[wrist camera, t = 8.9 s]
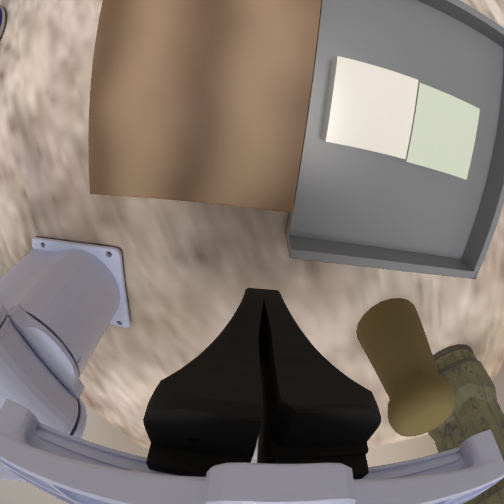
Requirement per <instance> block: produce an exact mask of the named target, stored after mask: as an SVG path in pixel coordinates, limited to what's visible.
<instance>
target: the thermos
mask: <svg viewBox="0 0 504 504" xmlns="http://www.w3.org/2000/svg"><path fill="white" fill-rule="evenodd" d="M433 358H434V362H435V365H436V368H437V371H438V374H440V375H442V376H444V377H445V378H447V379H448V380H449V381H450V382H451V384H452V386H453V388H454V391H455V396H456V402H455V407H454V410H453V412H452V413H451V414H450V416H449V417H448V418H447V419H446V420H445V421H444V422H443V423H442V424H441V425H439V426H438V427H436V428H434V429H433V430H431V431H429V432H428V433H429V435H430V436H431V437H432V438H433V439H434V441H435V444H436V447H437V450H438V453H441V452H444V451H448V450H451V449H454V448H458V447H460V445H461V444H462V443H463V442H464V441H465V440H466V439H468V438H469V437H471V436H473V435H475V434H478V433H481V432H484V431H487V430H491V431H492V434H493V436H494V438H495V441H496V443H497V446H498V448H499V450H500V453H501V455H502V458H503V461H504V414H503V412H502V411H501V408H500V406H499V404H498V402H497V399H496V391H495V386H494V384H493V382H492V381H491V379H490V377H489V375H488V374H487V372H486V370H485V369H484V367H483V365H482V363H481V362H479V361H478V360H477V359H476V357H475V356H474V354H473V351H472V350H471V348H470V347H468V346H466V345H455V346H451V347H448V348H446V349H444V350H442V351H440V352H438V353H437V354H435V355H434V356H433ZM462 504H504V478H502V479H501V480H500V481H498V482H497V483H495V484H494V485H493V486H491V487H490V488H488V489H487V490H485V491H484V492H482V493H481V494H479V495H478V496H476V497H474V498H473V499H471V500H469V501H467V502H464V503H462Z"/></svg>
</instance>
